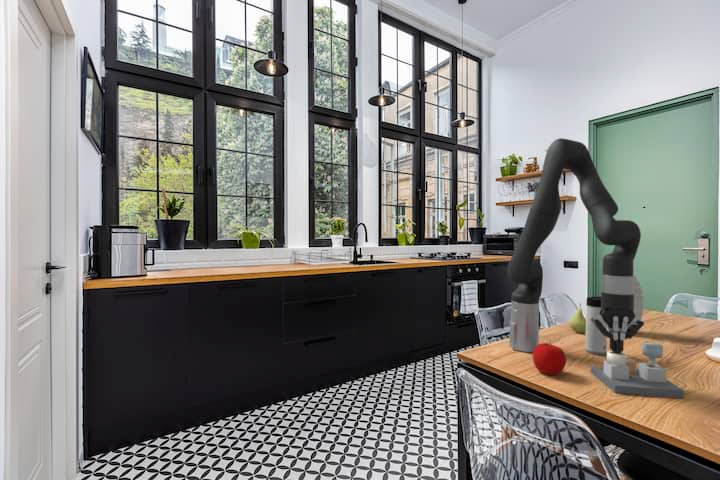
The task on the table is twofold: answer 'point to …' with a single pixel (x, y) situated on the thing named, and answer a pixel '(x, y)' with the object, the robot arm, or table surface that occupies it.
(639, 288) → the vase
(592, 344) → the travel mug
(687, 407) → the table surface
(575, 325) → the fruit
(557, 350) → the fruit
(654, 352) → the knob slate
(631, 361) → the trim pot
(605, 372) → the plate
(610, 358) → the knob ivory
